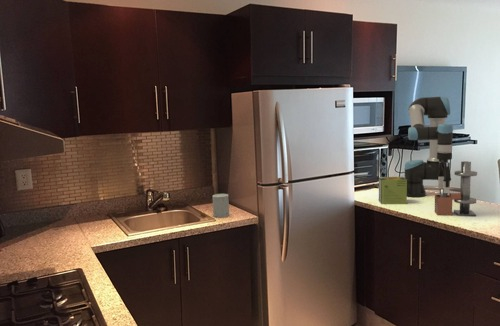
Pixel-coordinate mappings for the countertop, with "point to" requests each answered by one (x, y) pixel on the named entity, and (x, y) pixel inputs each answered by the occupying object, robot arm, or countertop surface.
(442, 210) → the post with bracket
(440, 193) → the dark grey cylinder
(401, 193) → the protein box
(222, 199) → the grey-green cylinder
